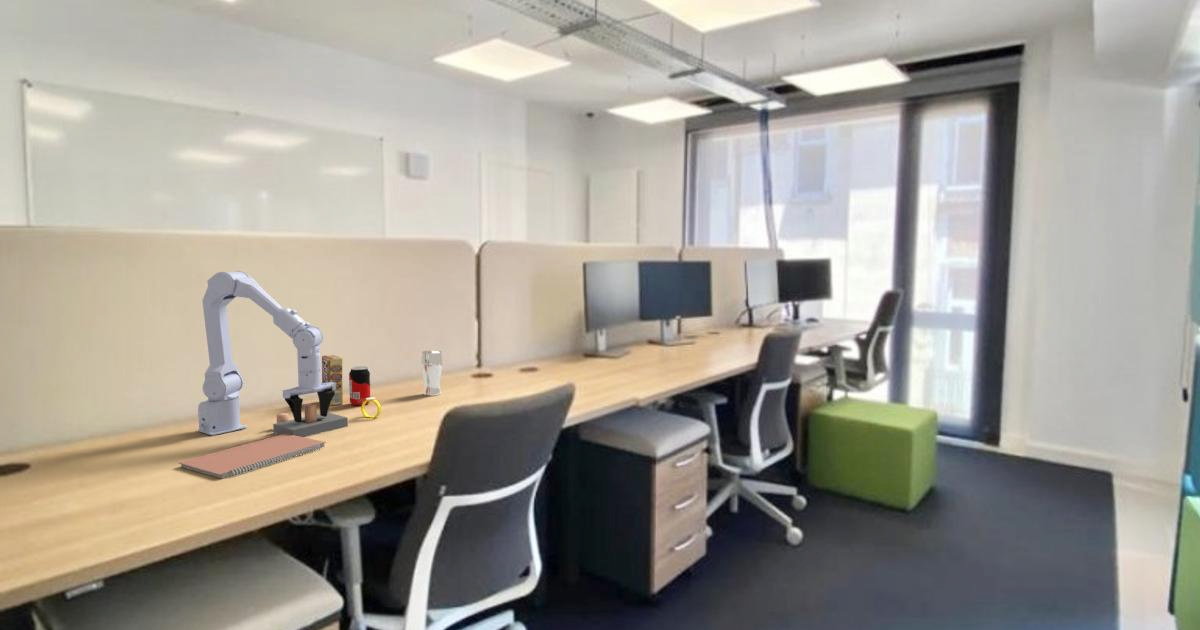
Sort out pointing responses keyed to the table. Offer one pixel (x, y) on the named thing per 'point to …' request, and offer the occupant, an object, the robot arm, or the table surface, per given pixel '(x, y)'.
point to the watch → (374, 402)
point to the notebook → (252, 455)
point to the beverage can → (359, 385)
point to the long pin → (310, 413)
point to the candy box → (333, 376)
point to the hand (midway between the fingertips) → (311, 418)
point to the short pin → (282, 417)
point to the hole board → (311, 425)
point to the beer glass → (432, 372)
